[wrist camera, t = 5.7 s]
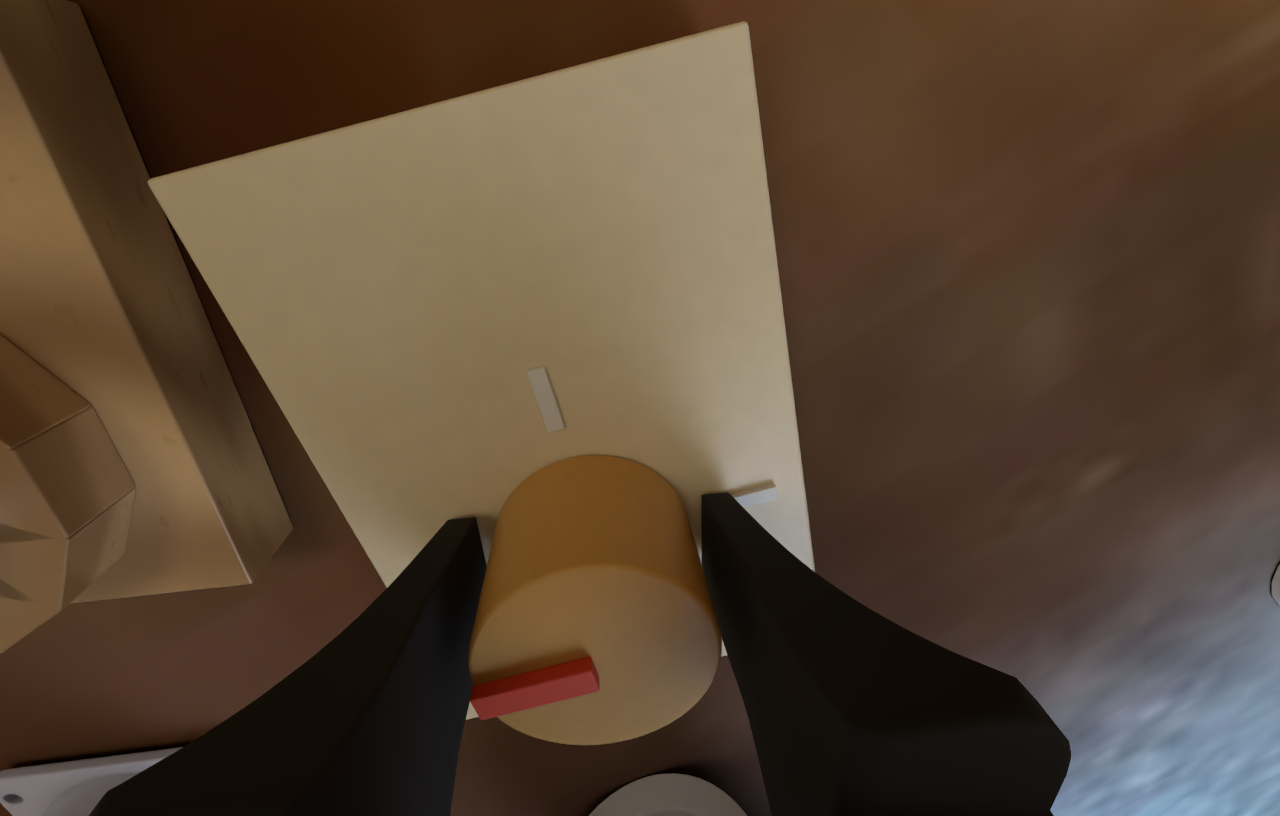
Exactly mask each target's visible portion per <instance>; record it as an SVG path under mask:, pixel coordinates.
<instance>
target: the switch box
mask: <svg viewBox="0 0 1280 816" xmlns="http://www.w3.org/2000/svg"><path fill="white" fill-rule="evenodd" d="M149 180H150V177H149V174H148V172H147V170H146V167H145V165H144V162H143V160H142V157H141V155H140V152H139V150H138V148H137V145H136V143H135V140H134V138H133V135H132V133H131V130H130V128H129V126H128V123H127V121H126V118H125V116H124V113H123V111H122V109H121V106H120V104H119V101H118V99H117V96H116V94H115V91H114V89H113V87H112V84H111V82H110V79H109V77H108V74H107V72H106V70H105V67H104V65H103V62H102V60H101V57H100V55H99V52H98V50H97V48H96V45H95V43H94V40H93V38H92V35H91V33H90V30H89V28H88V26H87V23H86V21H85V18H84V16H83V13H82V11H81V9H80V7H79V5H78V4H77V3H74V2H71V1H68V0H0V654H1V653H3V652H4V651H5V650H7V649H8V648H10V647H11V646H12V645H14V644H15V643H17V642H18V641H19V640H21V639H22V638H24V637H25V636H26V635H28V634H29V633H31V632H32V631H34V630H35V629H36V628H38V627H39V626H41V625H42V624H43V623H45V622H46V621H48V620H49V619H50V618H52V617H53V616H55V615H56V614H57V613H59V612H60V611H61V610H63V609H64V608H65V607H66V606H67V605H68V604H70V603H79V602H88V601H98V600H107V599H116V598H125V597H134V596H144V595H153V594H162V593H171V592H181V591H190V590H199V589H208V588H217V587H227V586H236V585H245V584H251V583H253V582H254V580H255V579H256V578H257V576H258V575H259V574H260V572H261V571H262V570H263V568H264V567H265V566H266V564H267V563H268V562H269V560H270V559H271V558H272V556H273V555H274V554H275V552H276V551H277V550H278V548H279V547H280V546H281V544H282V543H283V542H284V540H285V539H286V538H287V536H288V535H289V534H290V532H291V531H292V530H293V526H292V523H291V521H290V518H289V516H288V513H287V511H286V509H285V506H284V504H283V501H282V499H281V496H280V494H279V491H278V489H277V487H276V484H275V482H274V479H273V477H272V474H271V472H270V470H269V467H268V465H267V462H266V460H265V457H264V455H263V452H262V450H261V448H260V445H259V443H258V440H257V438H256V435H255V433H254V430H253V428H252V426H251V423H250V421H249V418H248V416H247V413H246V411H245V409H244V406H243V404H242V401H241V399H240V396H239V394H238V391H237V389H236V387H235V384H234V382H233V379H232V377H231V374H230V372H229V370H228V367H227V365H226V362H225V360H224V357H223V355H222V352H221V350H220V348H219V345H218V343H217V340H216V338H215V335H214V333H213V330H212V328H211V326H210V323H209V321H208V318H207V316H206V313H205V311H204V309H203V306H202V304H201V301H200V299H199V296H198V294H197V291H196V289H195V287H194V284H193V282H192V279H191V277H190V274H189V272H188V270H187V267H186V265H185V262H184V260H183V257H182V255H181V252H180V250H179V248H178V245H177V243H176V240H175V238H174V235H173V233H172V230H171V228H170V226H169V223H168V221H167V218H166V216H165V213H164V211H163V209H162V207H161V206H160V204H159V202H158V200H157V199H156V197H155V195H154V194H153V192H152V190H151V189H150V187H149V185H148V182H147V181H149Z"/></svg>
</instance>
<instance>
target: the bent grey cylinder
mask: <svg viewBox="0 0 1280 816" xmlns="http://www.w3.org/2000/svg"><path fill="white" fill-rule="evenodd" d="M589 816H747V814H746V813H745V812H744V811H743V810H742V808H741V807H740V806H739V805H738V804H737V803H736V802H735V801H734V800H733V799H732V798H731V797H730V796H729V795H727V794H726V793H725V792H724V791H722V790H721V789H719V788H718V787H716V786H715V785H713V784H711V783H709V782H707V781H705V780H703V779H701V778H697V777H693V776H690V775H685V774H676V773H669V774H658V775H652V776H648V777H645V778H642V779H639V780H636V781H634V782H632V783H630V784H628V785H626V786H624V787H622V788H621V789H619V790H617V791H616V792H614V793H613V794H611V795H610V796H609V797H608V798H607V799H605V800H604V801H603V802H602V803H600V804H599V805H598V806H597V807H596V808H595V809H594V810H593V812H592V813H591V814H590V815H589Z"/></svg>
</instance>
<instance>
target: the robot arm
mask: <svg viewBox="0 0 1280 816" xmlns="http://www.w3.org/2000/svg"><path fill="white" fill-rule="evenodd" d="M701 531H702V568H703V571H704V575H705V578H706V582H707V585H708V589H709V592H710V596H711V599H712V603H713V606H714V610H715V613H716V617H717V620H718V624H719V627H720V631H721V638H722V640H723V643H724V646H725V649H726V652H727V655H728V658H729V660H730V663H731V666H732V669H733V672H734V675H735V678H736V680H737V683H738V686H739V689H740V692H741V695H742V698H743V701H744V704H745V708H746V711H747V714H748V718H749V722H750V726H751V730H752V734H753V738H754V742H755V746H756V750H757V754H758V758H759V762H760V767H761V771H762V775H763V779H764V784H765V788H766V792H767V797H768V801H769V805H770V809H771V814H772V816H1053V814H1052V813H1051V811H1050V809H1051V807H1052V805H1053V802H1054V800H1055V798H1056V796H1057V794H1058V792H1059V789H1060V787H1061V785H1062V783H1063V781H1064V779H1065V777H1066V774H1067V771H1068V767H1069V763H1070V759H1071V750H1070V745H1069V741H1068V739H1067V738H1066V737H1065V736H1064V734H1063V733H1062V732H1061V731H1060V729H1059V728H1058V727H1057V726H1056V724H1055V723H1054V722H1053V721H1052V719H1051V718H1050V717H1049V715H1048V714H1047V713H1046V712H1045V710H1044V709H1043V708H1042V706H1041V705H1040V704H1039V703H1038V701H1037V700H1036V699H1035V698H1034V697H1033V696H1032V695H1031V694H1030V693H1029V691H1028V690H1027V689H1026V688H1025V687H1024V686H1023V685H1022V684H1021V683H1020V682H1019V681H1018V679H1017V678H1015V677H1013V676H1010V675H1008V674H1005V673H1003V672H1000V671H998V670H996V669H993V668H991V667H988V666H986V665H983V664H981V663H978V662H976V661H973V660H971V659H968V658H966V657H963V656H961V655H958V654H956V653H954V652H952V651H949V650H947V649H945V648H943V647H941V646H939V645H937V644H935V643H933V642H931V641H928V640H926V639H924V638H922V637H920V636H918V635H916V634H914V633H912V632H910V631H908V630H906V629H904V628H903V627H901V626H899V625H897V624H895V623H893V622H892V621H890V620H888V619H886V618H885V617H883V616H881V615H879V614H878V613H876V612H874V611H872V610H871V609H869V608H867V607H865V606H864V605H862V604H861V603H859V602H857V601H856V600H854V599H853V598H851V597H850V596H848V595H847V594H845V593H844V592H842V591H841V590H839V589H838V588H836V587H835V586H833V585H832V584H830V583H829V582H827V581H826V580H825V579H823V578H822V577H821V576H819V575H818V574H817V573H815V572H814V571H813V570H811V569H810V568H809V567H808V566H806V565H805V564H804V563H803V562H801V561H800V560H799V559H798V558H797V557H795V556H794V555H793V554H792V553H791V552H790V551H788V550H787V549H786V548H785V547H784V546H783V545H782V544H781V543H780V542H778V541H777V540H776V539H775V538H774V537H773V536H772V535H771V534H770V533H769V532H768V531H767V530H765V529H764V528H763V527H762V526H761V525H760V524H759V523H758V522H757V521H756V520H755V519H754V518H753V517H752V516H751V515H750V514H749V513H748V512H747V511H746V510H745V509H744V508H743V507H742V506H741V505H740V504H739V502H738V501H737V500H736V499H735V498H734V497H733V496H732V495H730V494H729V493H728V492H725V493H715V494H705V495H701ZM486 568H487V565H486V560H485V556H484V551H483V547H482V542H481V537H480V533H479V528H478V524H477V519H476V517H470V518H460V519H450V520H447V522H446V523H445V524H444V525H443V526H442V527H441V528H440V529H439V530H438V532H437V533H436V534H435V535H434V536H433V537H432V538H431V540H430V541H429V542H428V543H427V544H426V545H425V546H424V548H423V549H422V550H421V551H420V552H419V553H418V555H417V556H416V557H415V558H414V559H413V560H412V561H411V563H410V564H409V565H408V566H407V567H406V568H405V569H404V570H403V571H402V572H401V574H400V575H399V576H398V577H397V578H396V579H395V580H394V581H393V582H392V583H391V585H390V586H389V587H388V588H387V589H386V590H385V591H384V592H383V593H382V594H381V595H380V596H379V597H378V598H377V599H376V600H375V601H374V602H373V603H372V604H371V605H370V606H369V607H368V608H367V609H366V610H365V611H364V612H363V613H362V614H361V615H360V616H359V617H358V618H357V619H356V620H355V621H353V622H352V623H351V624H350V625H349V626H348V627H347V628H346V629H345V630H344V631H342V632H341V633H340V634H339V635H338V636H337V637H336V638H334V639H333V640H332V641H331V642H330V643H329V644H327V645H326V646H325V647H324V648H323V649H322V650H320V651H319V652H318V653H317V654H316V655H314V656H313V657H312V658H311V659H309V660H308V661H307V662H306V663H304V664H303V665H302V666H300V667H299V668H298V669H296V670H295V671H294V672H292V673H291V674H290V675H288V676H287V677H286V678H285V679H283V680H282V681H281V682H279V683H278V684H277V685H275V686H274V687H273V688H271V689H270V690H269V691H267V692H266V693H265V694H263V695H262V696H261V697H259V698H258V699H256V700H255V701H253V702H252V703H250V704H249V705H248V706H246V707H245V708H243V709H242V710H240V711H239V712H237V713H236V714H234V715H233V716H231V717H230V718H228V719H227V720H225V721H224V722H222V723H221V724H219V725H218V726H216V727H215V728H213V729H211V730H210V731H208V732H207V733H205V734H204V735H202V736H201V737H199V738H197V739H196V740H194V741H193V742H191V743H189V744H188V745H186V746H185V747H179V748H171V749H163V750H155V751H147V752H139V753H131V754H123V755H115V756H107V757H99V758H91V759H83V760H75V761H67V762H59V763H51V764H43V765H35V766H27V767H19V768H11V769H6V770H2V771H0V803H1V804H2V805H3V806H4V807H5V808H6V809H7V810H8V811H9V812H10V814H11V815H12V816H450V811H451V803H452V796H453V789H454V781H455V774H456V767H457V760H458V753H459V748H460V743H461V738H462V733H463V728H464V724H465V720H466V716H467V711H468V707H469V703H470V696H471V691H472V687H473V684H472V681H471V677H470V673H469V669H468V651H469V644H470V639H471V635H472V630H473V626H474V622H475V617H476V613H477V608H478V604H479V599H480V595H481V590H482V586H483V581H484V577H485V572H486Z"/></svg>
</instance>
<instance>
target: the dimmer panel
mask: <svg viewBox="0 0 1280 816" xmlns="http://www.w3.org/2000/svg"><path fill="white" fill-rule="evenodd" d="M147 182H148V185H149V187H150V189H151V190H152V192H153V194H154V195H155V197H156V199H157V200H158V202H159V204H160V206H161V207H162V209H163V211H164V212H165V214H166V216H167V217H168V219H169V221H170V222H171V224H172V226H173V227H174V229H175V231H176V233H177V234H178V236H179V238H180V239H181V241H182V243H183V244H184V246H185V248H186V249H187V251H188V253H189V255H190V256H191V258H192V260H193V261H194V263H195V265H196V266H197V268H198V270H199V271H200V273H201V275H202V276H203V278H204V280H205V282H206V283H207V285H208V287H209V288H210V290H211V292H212V293H213V295H214V297H215V298H216V300H217V302H218V303H219V305H220V307H221V309H222V310H223V312H224V314H225V315H226V317H227V319H228V320H229V322H230V324H231V325H232V327H233V329H234V331H235V332H236V334H237V336H238V337H239V339H240V341H241V342H242V344H243V346H244V347H245V349H246V351H247V352H248V354H249V356H250V358H251V359H252V361H253V363H254V364H255V366H256V368H257V369H258V371H259V373H260V374H261V376H262V378H263V379H264V381H265V383H266V385H267V386H268V388H269V390H270V391H271V393H272V395H273V396H274V398H275V400H276V401H277V403H278V405H279V407H280V408H281V410H282V412H283V413H284V415H285V417H286V418H287V420H288V422H289V423H290V425H291V427H292V428H293V430H294V432H295V434H296V435H297V437H298V439H299V440H300V442H301V444H302V445H303V447H304V449H305V450H306V452H307V454H308V456H309V457H310V459H311V461H312V462H313V464H314V466H315V467H316V469H317V471H318V472H319V474H320V476H321V477H322V479H323V481H324V483H325V484H326V486H327V488H328V489H329V491H330V493H331V494H332V496H333V498H334V499H335V501H336V503H337V504H338V506H339V508H340V510H341V511H342V513H343V515H344V516H345V518H346V520H347V521H348V523H349V525H350V526H351V528H352V530H353V532H354V533H355V535H356V537H357V538H358V540H359V542H360V543H361V545H362V547H363V548H364V550H365V552H366V553H367V555H368V557H369V559H370V560H371V562H372V564H373V565H374V567H375V569H376V570H377V572H378V574H379V575H380V577H381V579H382V580H383V582H384V584H385V586H386V587H387V588H388V587H389V586H390V585H391V583H392V582H393V581H394V580H395V579H396V578H397V577H398V576H399V575H400V574H401V572H402V571H403V570H404V569H405V568H406V567H407V566H408V565H409V564H410V563H411V561H412V560H413V559H414V558H415V557H416V556H417V555H418V553H419V552H420V551H421V550H422V549H423V548H424V546H425V545H426V544H427V543H428V542H429V541H430V540H431V538H432V537H433V536H434V535H435V534H436V533H437V532H438V530H439V529H440V528H441V527H442V526H443V525H444V524H445V523H446V522H447V520H450V519H460V518H470V517H476V519H477V524H478V528H479V533H480V537H481V542H482V547H483V551H484V556H485V560H486V565H487V563H488V559H489V554H490V550H491V545H492V541H493V536H494V532H495V527H496V523H497V520H498V516H499V513H500V511H501V509H502V507H503V505H504V503H505V501H506V500H507V498H508V497H509V495H510V494H511V493H512V491H513V490H514V489H515V488H516V487H517V486H518V485H519V484H520V483H521V482H523V481H524V480H525V479H526V478H527V477H529V476H530V475H531V474H533V473H535V472H536V471H538V470H540V469H541V468H543V467H545V466H548V465H550V464H552V463H554V462H558V461H561V460H564V459H567V458H572V457H577V456H587V455H607V456H614V457H620V458H624V459H627V460H631V461H634V462H636V463H639V464H641V465H644V466H645V467H647V468H649V469H651V470H653V471H654V472H656V473H657V474H658V475H660V476H661V477H662V478H664V479H665V480H666V481H667V482H668V483H669V484H670V485H671V486H672V487H673V488H674V490H675V491H676V492H677V494H678V495H679V497H680V498H681V500H682V502H683V504H684V506H685V509H686V512H687V515H688V519H689V522H690V526H691V529H692V533H693V536H694V540H695V543H696V547H697V550H698V554H699V557H700V561H701V564H702V531H701V495H705V494H715V493H725V492H728V493H729V494H730V495H732V496H733V497H734V498H735V499H736V500H737V501H738V502H739V504H740V505H741V506H742V507H743V508H744V509H745V510H746V511H747V512H748V513H749V514H750V515H751V516H752V517H753V518H754V519H755V520H756V521H757V522H758V523H759V524H760V525H761V526H762V527H763V528H764V529H765V530H767V531H768V532H769V533H770V534H771V535H772V536H773V537H774V538H775V539H776V540H777V541H778V542H780V543H781V544H782V545H783V546H784V547H785V548H786V549H787V550H788V551H790V552H791V553H792V554H793V555H794V556H795V557H797V558H798V559H799V560H800V561H801V562H803V563H804V564H805V565H806V566H808V567H809V568H810V569H811V570H813V571H814V572H815V567H814V559H813V551H812V542H811V534H810V526H809V518H808V510H807V501H806V493H805V485H804V477H803V469H802V461H801V452H800V444H799V436H798V428H797V420H796V411H795V403H794V395H793V387H792V379H791V370H790V362H789V354H788V346H787V338H786V330H785V321H784V313H783V305H782V297H781V289H780V280H779V272H778V264H777V256H776V248H775V239H774V231H773V223H772V215H771V207H770V199H769V190H768V182H767V174H766V166H765V158H764V149H763V141H762V133H761V125H760V117H759V108H758V100H757V92H756V84H755V76H754V68H753V59H752V51H751V43H750V35H749V27H748V24H747V22H745V21H741V22H737V23H734V24H730V25H726V26H722V27H719V28H715V29H711V30H707V31H704V32H700V33H696V34H692V35H689V36H685V37H681V38H677V39H674V40H670V41H666V42H662V43H658V44H655V45H651V46H647V47H643V48H640V49H636V50H632V51H628V52H625V53H621V54H617V55H613V56H610V57H606V58H602V59H598V60H595V61H591V62H587V63H583V64H580V65H576V66H572V67H568V68H564V69H561V70H557V71H553V72H549V73H546V74H542V75H538V76H534V77H531V78H527V79H523V80H519V81H516V82H512V83H508V84H504V85H501V86H497V87H493V88H489V89H486V90H482V91H478V92H474V93H470V94H467V95H463V96H459V97H455V98H452V99H448V100H444V101H440V102H437V103H433V104H429V105H425V106H422V107H418V108H414V109H410V110H407V111H403V112H399V113H395V114H392V115H388V116H384V117H380V118H377V119H373V120H369V121H365V122H361V123H358V124H354V125H350V126H346V127H343V128H339V129H335V130H331V131H328V132H324V133H320V134H316V135H313V136H309V137H305V138H301V139H298V140H294V141H290V142H286V143H283V144H279V145H275V146H271V147H267V148H264V149H260V150H256V151H252V152H249V153H245V154H241V155H237V156H234V157H230V158H226V159H222V160H219V161H215V162H211V163H207V164H204V165H200V166H196V167H192V168H189V169H185V170H181V171H177V172H173V173H170V174H166V175H162V176H158V177H155V178H151V179H150V180H149V181H147ZM725 655H727V652H726V649H725V646H724V643H723V640H722V654H721V656H725ZM475 717H479V716H478V714H477V713H476V711H475V709H474V707H473V706H472V704H471V702H470V703H469V707H468V711H467V716H466V720H467V719H471V718H475Z"/></svg>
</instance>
